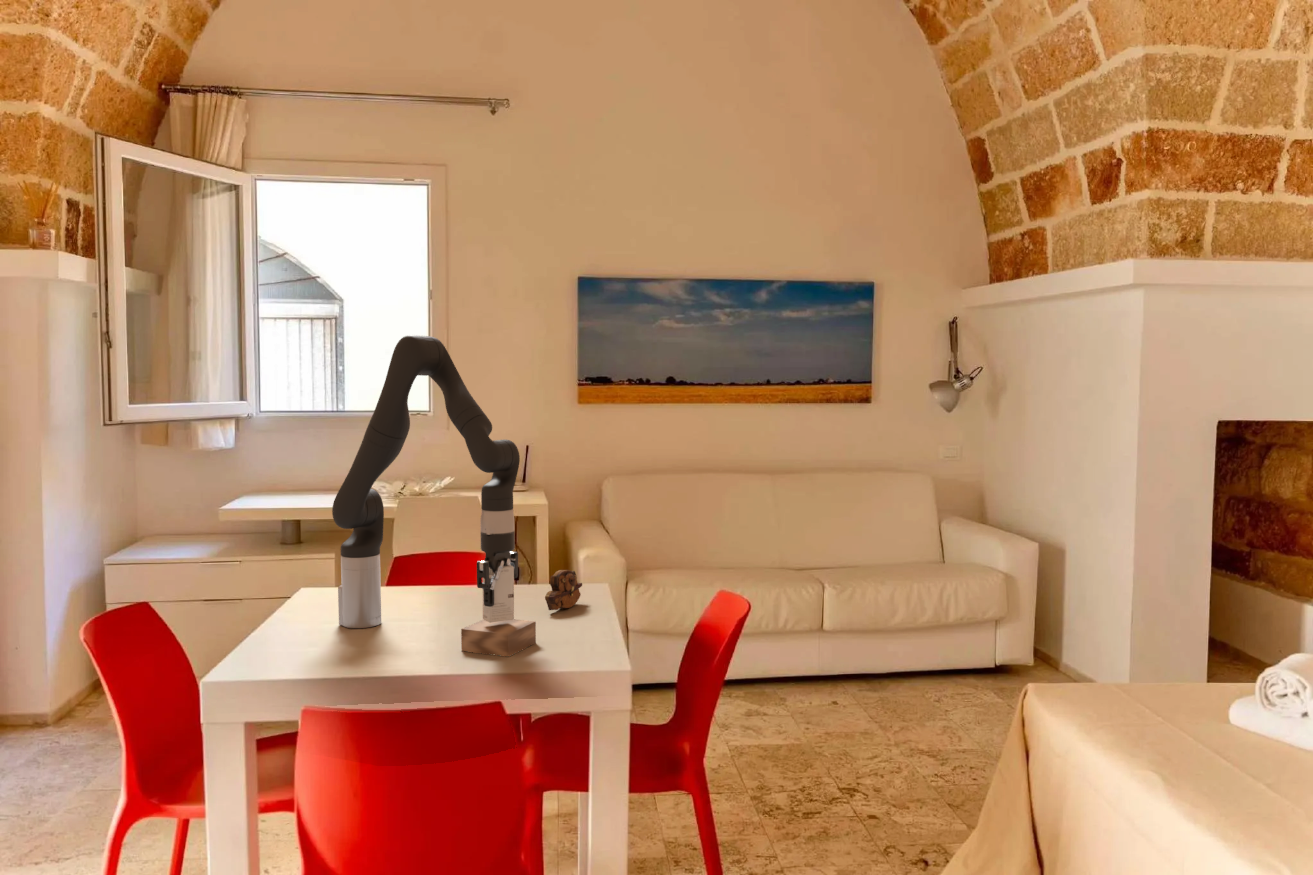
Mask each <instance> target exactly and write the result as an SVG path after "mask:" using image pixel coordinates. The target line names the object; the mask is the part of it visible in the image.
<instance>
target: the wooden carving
mask: <svg viewBox="0 0 1313 875" xmlns="http://www.w3.org/2000/svg"><path fill="white" fill-rule="evenodd" d="M577 579H578V577H577V574H576V571H575V570H569V569H559V570H556V571H555V573H554V574H553V575H551V576H550V580H549V585H550V587H551V590H549V591H548V592H546V595H545V597H544V600H545V602H546V605H547V608H548V611H557V610H559V609H571V608H573V606H574V605H576V604H577V602H578V601H579V599H580V597H581V596H582V595H581V594H582V593H581V592H580V588H582V587H583V582H578V580H577Z"/></svg>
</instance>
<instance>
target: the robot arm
mask: <svg viewBox="0 0 1313 875" xmlns="http://www.w3.org/2000/svg"><path fill="white" fill-rule="evenodd" d="M417 376H422V377H423V376H425V377H426V376H428V377H430V379H432V381H433V382H435V383H436V385H438V387H439V388H440V390H441V391H442V394H443V397H444V398H443V399H444V404H445V409H446V410H445V411H446V413H447V415H448V418H449V420H450V422H451V423H452V424H453V425H454V426H455V428H456V430H457V431H458V432H459V433H460V435H461V437H463V438H464V441H465V444H466V448H467V449H468V450H467V451H468V452H469V454H470V455H469V456H470V458H471V461H472V462H473V464H474V465H475V466H476V468H478V469H479V470H480V471H482V472H483V473H486V474H487V473H489V474H490V473H491V474H492V476H491V479H490V481H488V482H487V483H485V484H484V485H483V486H482V487H481V494H480V498H481V499H480V500H481V504H480V506H481V508H480V509H481V514H480V526H479V527H480V550H481V552H484V553H485V558H484V560H481V561H480V560H477V562H476V587H477V589H482V591H483V590H484V605H485V606H488V607H492V606H494V590H493V589H494V586H495V582H496V581H497V580H498V579H499V575H500V572H501V569H502V568H503V566H509V565H511V566H513V567H514V579H517V578H518V576H519V553H518V551H514V550H515V549H516V548H515V546H516V544H515V540H516V539H515V537H516V536H515V514H514V488H515V485H516V481H517V477H518V472H519V467H520V460H521V458H520V451H519V449H518V446H517V445H516V443H515V442H514V441H512V440H510V439H495V440H492V439H491V437H490V434H491V433H492V431H493V424H492V422H491V420H490V419H489V418H488V416H487V414H486V413H485V412H484V411H483V410H482V408H481V406H480V405H479V404H478V402H477V401H476V400H475V399H474V397H473V396H472V394H471V393H470V391H469V389H468V388H467V385H466V384H465V382H464V380H463V379H462V377H461V375H460V373H459V371H458V369H457V367H456V365H455V363H454V361H453V359H452V358H451V355H450V353H449V351H448V350H447V348H446V346H445V345H444V343H443V342H442V341H441V340H439V339H438V338H437V337H434V336H429V335H418V334H408V335H405V336H402V337H401V338H400V339H399V340H398V342H397V343H396V345H395V347H394V348H393V352H392V355H391V358H390V362H389V366H388V370H387V374H386V376H385V380H384V384H383V386H382V389H381V393H380V395H379V398H378V401H377V404H376V406H375V409H374V411H373V413H372V416H371V418H370V420H369V422H368V424H367V428H366V430H365V432H364V435H363V438H362V441H361V444H360V446H359V448H358V451H357V453H356V455H355V458H354V460H353V462H352V464H351V467H350V469H349V471H348V473H347V475H346V476H345V478H344V481H343V483H342V484H341V486H340V488H339V490H338V491H337V494H336V496H335V498H334V500H333V502H332V510H331V514H332V519H333V522H334V523H335V525H336V526H337V527H338V528H341V529H344V530H345V529H346V530H350V529H353V530H352V532H351V534H350V536H349V537H348V538H347V539H346V540H345V541H344V542H342V543H341V545H340V575H341V578H340V579H341V580H340V581H341V585H338V588H337V596H338V598H337V599H338V601H337V602H338V625H340V626H343V627H344V628H348V629H365V628H371V627H375V626H376V627H377V626H379V625H381V624H382V589H381V588H382V587H381V586H382V585H381V581H382V580H381V547H382V545H383V544H382V543H383V540H384V524H385V523H384V522H385V521H384V520H385V517H384V513H385V511H384V503H383V499H382V496H381V495H380V493H379V492H378V491H377V490H375V489H374V488H373V486H374V484H375V482H376V481H377V479H378V478H380V477H381V475H382V474H383V473H384V472H385V471H386V470H387V469H388V468H389V467H390V466H391V465H392V463H393V462H394V461H395V460H396V459H397V457H398V456H399V455H400V453H401V451H402V450H403V447H404V444H405V442H406V440H407V437H408V434H409V431H410V428H411V420H410V419H411V418H410V410H409V405H408V404H409V403H408V400H409V396H410V391H411V389H412V386H413V383H414V382H415V379H417ZM489 569H492V571H493V573H494V575H489ZM483 578H484V580H483ZM489 579H491V583H489Z"/></svg>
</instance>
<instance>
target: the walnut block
mask: <svg viewBox="0 0 1313 875" xmlns="http://www.w3.org/2000/svg"><path fill="white" fill-rule="evenodd" d="M536 624H537V622H536V620H525V619H517V618H516V619H515V618H514V619H513V620H506V621H498V622H492V623H489V622H487V621H485V620H484V619H483V618H482V620H479V621H476V622H474V623H472V624H469V625H468V626H464V627H463V628H461V629H460V633H461V634H460V637H461V642H460V643H461V652H464V651H468V652H467V653H472V652H473V654H481V653H482V654H483V655H489V654H492V655H491V656H497V655H501V656H500V657H505V656H509V657H511V656H513V655H515V654H518V653H519V652H521V651H523V650H525V649H527V648H529V647H531V646H533V645H535V644H536V643H537V638H536V637H537V635H536V634H537V633H536V632H537V630H536V628H537V627H536ZM530 645H531V646H530ZM528 646H529V647H528ZM526 647H527V648H526ZM522 649H523V650H522ZM518 651H519V652H518ZM514 653H515V654H514ZM493 654H495V655H493ZM512 654H513V655H512ZM510 655H511V656H510Z"/></svg>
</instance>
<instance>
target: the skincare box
mask: <svg viewBox="0 0 1313 875" xmlns="http://www.w3.org/2000/svg"><path fill="white" fill-rule="evenodd" d="M489 575H494V573H493V571H492V569H489ZM483 580H484V578H482V581H483ZM489 583H491V579H489ZM493 590H494V606H492V607H488V606H485V605H484V590H483V589H482V620H483V619H484V620H485V621H487V622H489V623H492V622H498V621H506V620H513V619H515V578H514V567H513V566H511V565H509V566H503V568H502V569H501V572H500V575H499V579H498V580H497V581H496V582H495V586H494V589H493Z"/></svg>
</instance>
